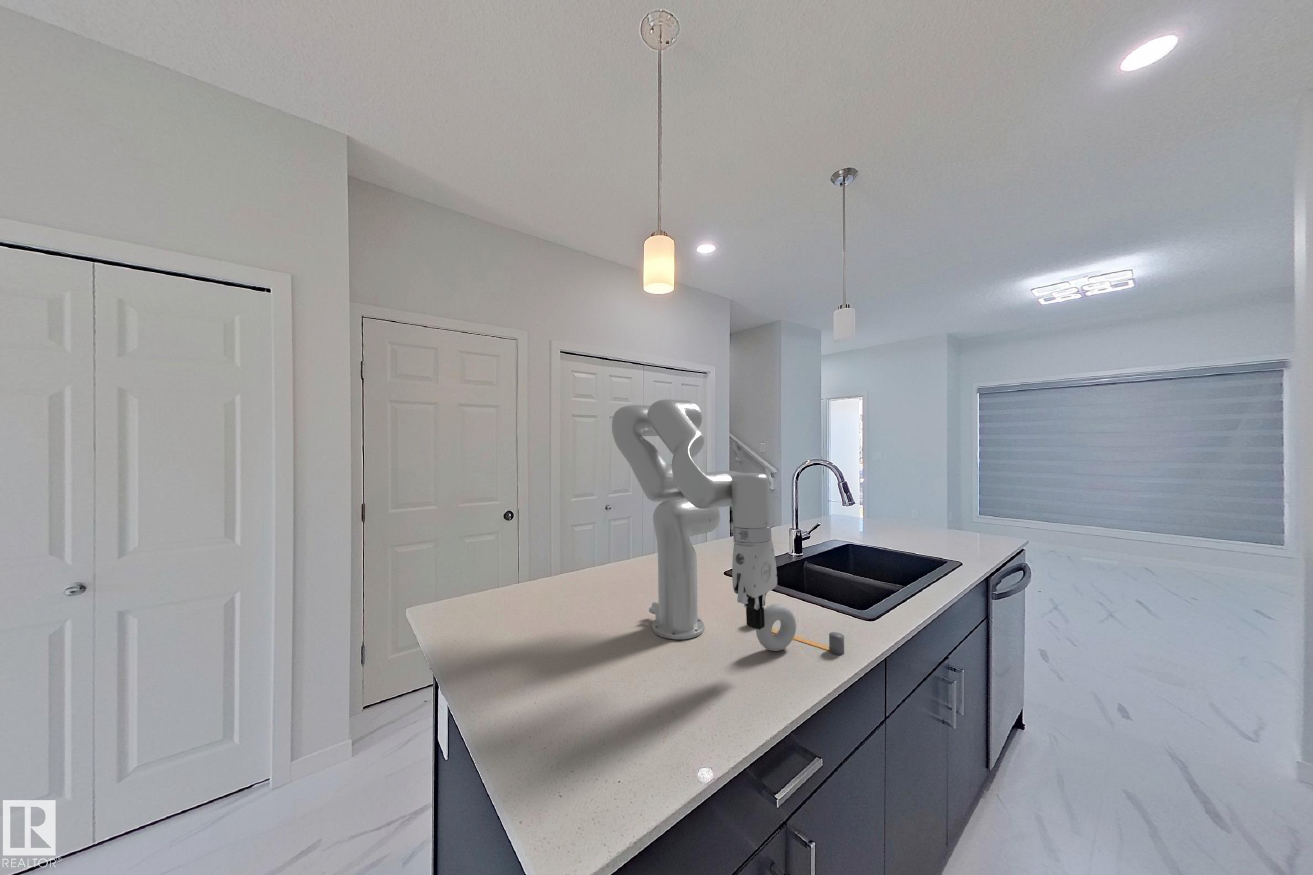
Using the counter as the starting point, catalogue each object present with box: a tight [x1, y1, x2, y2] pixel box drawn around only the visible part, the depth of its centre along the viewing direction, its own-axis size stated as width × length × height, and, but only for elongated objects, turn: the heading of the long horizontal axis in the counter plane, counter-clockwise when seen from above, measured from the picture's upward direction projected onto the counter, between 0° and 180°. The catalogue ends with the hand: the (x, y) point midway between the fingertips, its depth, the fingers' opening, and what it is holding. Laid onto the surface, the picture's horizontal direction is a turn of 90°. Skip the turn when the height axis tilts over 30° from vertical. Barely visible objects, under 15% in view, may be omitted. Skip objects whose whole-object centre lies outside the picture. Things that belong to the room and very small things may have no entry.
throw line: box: [772, 628, 845, 656], centre depth 103 cm, size 23×3×4 cm, turn 47°
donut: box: [755, 603, 797, 652], centre depth 97 cm, size 10×3×10 cm, turn 113°
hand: (755, 626), depth 89 cm, fingers closed
